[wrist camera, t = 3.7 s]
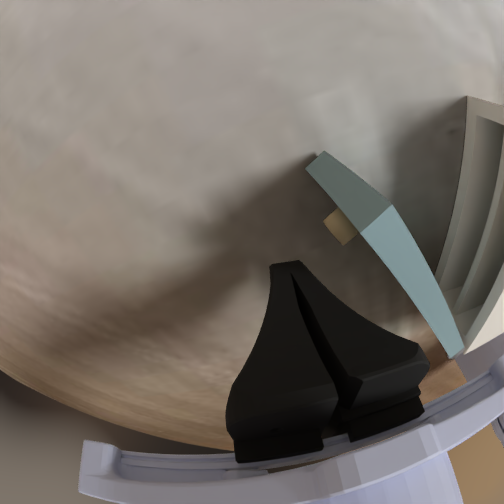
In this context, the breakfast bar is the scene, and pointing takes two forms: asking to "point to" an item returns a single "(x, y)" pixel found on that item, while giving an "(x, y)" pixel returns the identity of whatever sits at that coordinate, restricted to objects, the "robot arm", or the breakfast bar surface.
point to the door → (385, 242)
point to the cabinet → (477, 231)
